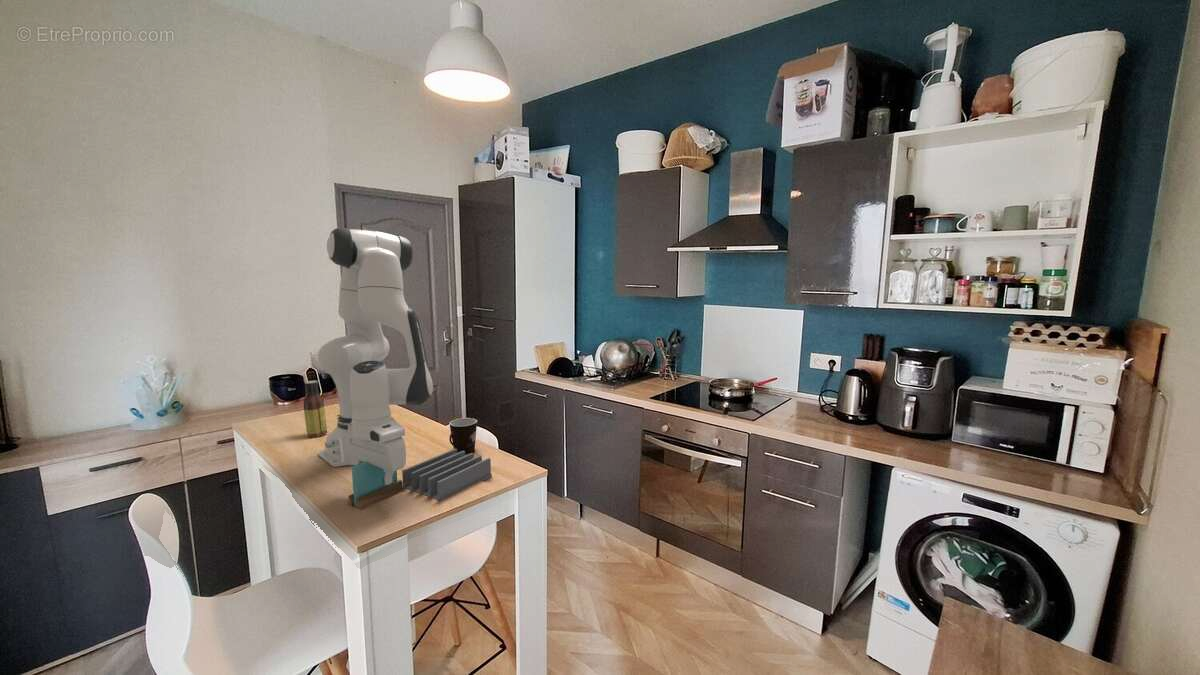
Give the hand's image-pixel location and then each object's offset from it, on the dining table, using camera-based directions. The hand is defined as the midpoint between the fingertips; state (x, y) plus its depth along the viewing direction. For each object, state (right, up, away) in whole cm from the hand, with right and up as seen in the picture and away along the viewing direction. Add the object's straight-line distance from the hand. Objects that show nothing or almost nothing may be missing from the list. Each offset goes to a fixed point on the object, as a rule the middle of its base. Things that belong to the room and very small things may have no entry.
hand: (375, 479), depth 115 cm
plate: (0, -5, +1) cm, 5 cm away
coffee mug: (+12, -2, +32) cm, 34 cm away
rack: (+15, -4, +10) cm, 19 cm away
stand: (0, -6, +1) cm, 6 cm away
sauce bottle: (-45, +1, +48) cm, 66 cm away
